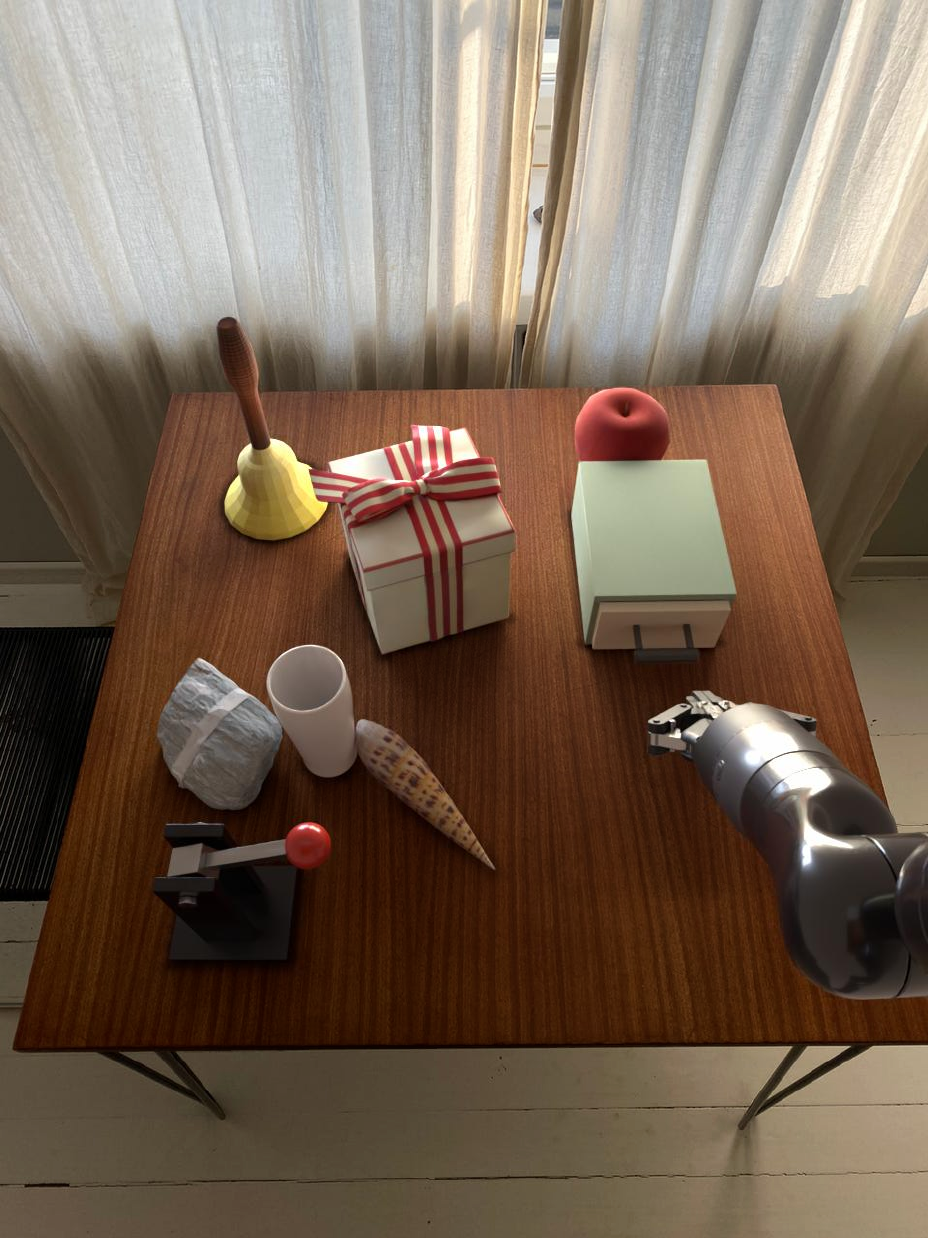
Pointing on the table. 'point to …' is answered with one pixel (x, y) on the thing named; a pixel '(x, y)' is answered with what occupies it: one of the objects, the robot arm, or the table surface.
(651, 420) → the apple
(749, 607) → the table surface
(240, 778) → the decorative stone
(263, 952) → the bracket
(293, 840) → the lever
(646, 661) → the drawer
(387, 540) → the gift box
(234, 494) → the handbell
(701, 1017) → the table surface
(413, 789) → the seashell
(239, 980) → the table surface
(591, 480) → the cabinet
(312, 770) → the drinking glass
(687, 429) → the table surface
